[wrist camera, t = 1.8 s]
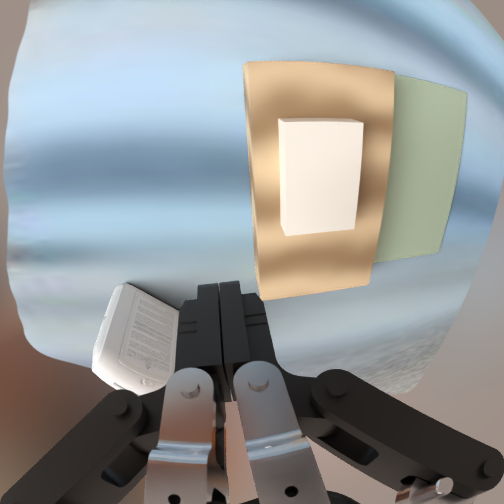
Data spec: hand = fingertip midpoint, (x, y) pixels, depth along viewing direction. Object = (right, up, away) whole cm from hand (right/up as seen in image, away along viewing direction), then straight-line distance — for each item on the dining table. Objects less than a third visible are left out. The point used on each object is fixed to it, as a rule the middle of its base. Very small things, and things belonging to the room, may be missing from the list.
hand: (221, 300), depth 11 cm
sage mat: (+20, +10, +17) cm, 28 cm away
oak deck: (+7, +9, +16) cm, 20 cm away
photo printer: (-11, -5, +23) cm, 26 cm away
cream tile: (+6, +8, +12) cm, 16 cm away
